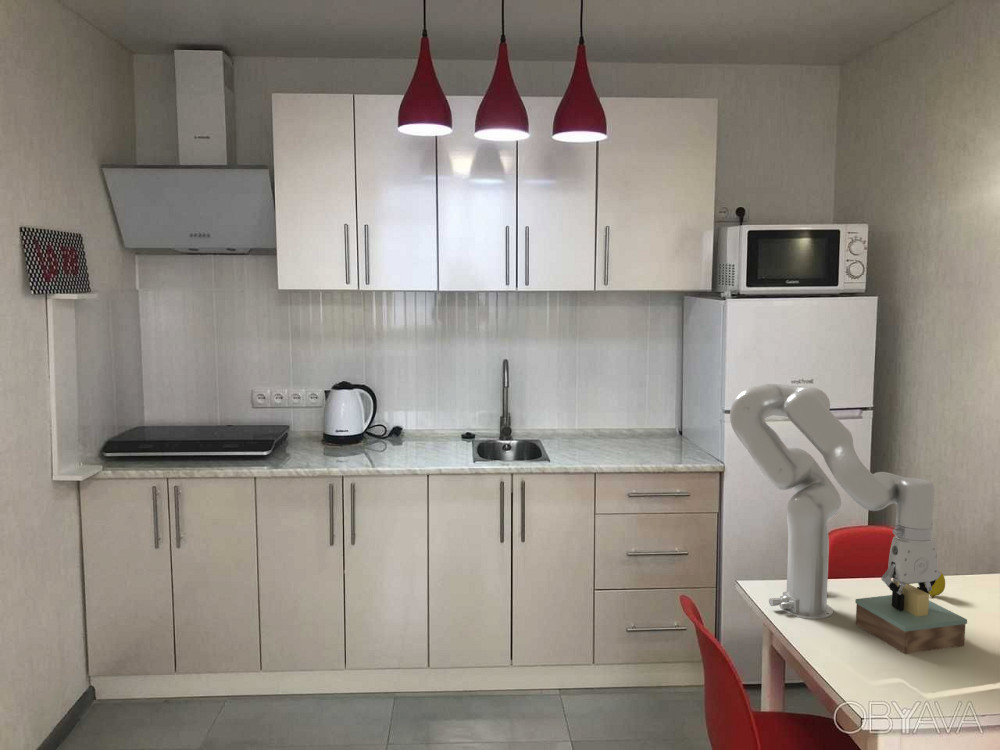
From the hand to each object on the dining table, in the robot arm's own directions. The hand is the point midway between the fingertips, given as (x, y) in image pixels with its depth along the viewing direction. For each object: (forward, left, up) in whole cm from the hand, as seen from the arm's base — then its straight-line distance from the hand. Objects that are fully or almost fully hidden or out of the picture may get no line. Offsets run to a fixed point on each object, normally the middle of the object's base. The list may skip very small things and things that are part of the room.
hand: (909, 606), depth 184 cm
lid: (0, 0, -2) cm, 2 cm away
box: (0, 0, -8) cm, 8 cm away
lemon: (+24, +19, -8) cm, 32 cm away
